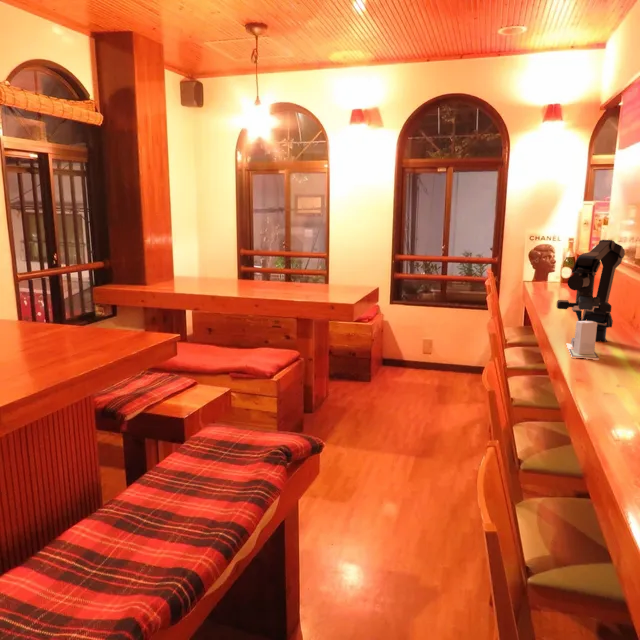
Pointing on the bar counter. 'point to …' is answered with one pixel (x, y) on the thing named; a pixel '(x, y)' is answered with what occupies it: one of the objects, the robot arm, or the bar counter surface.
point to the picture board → (573, 354)
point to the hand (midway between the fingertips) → (581, 327)
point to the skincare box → (585, 337)
